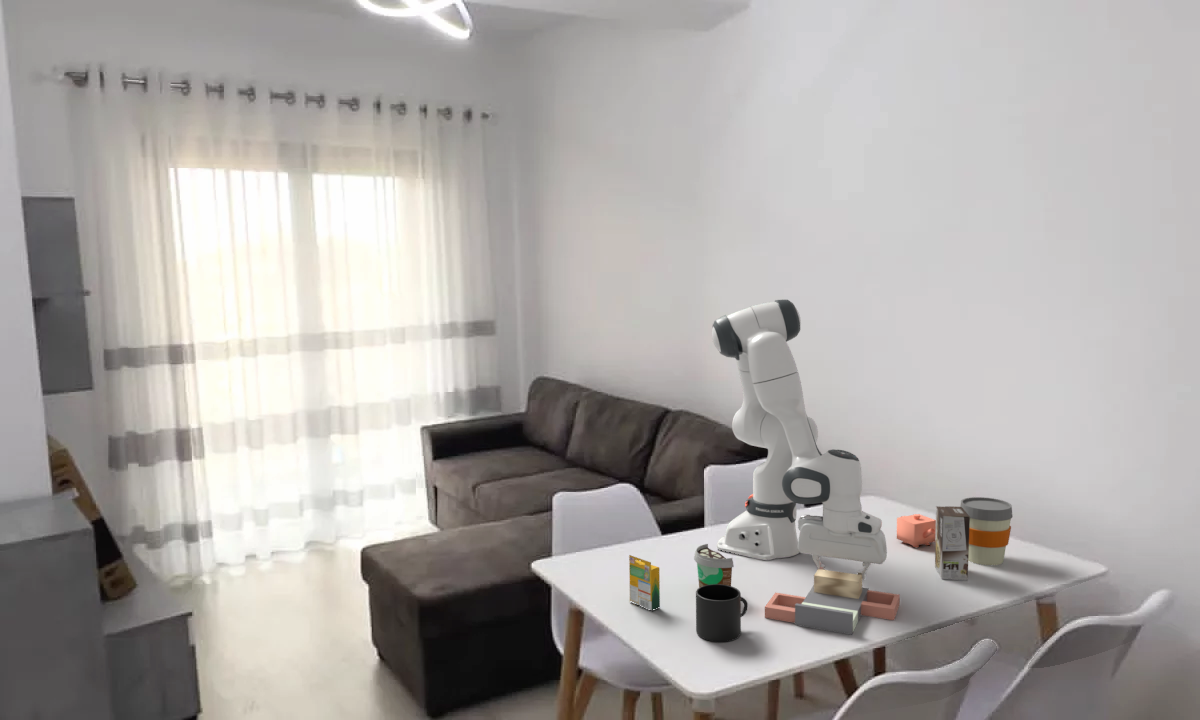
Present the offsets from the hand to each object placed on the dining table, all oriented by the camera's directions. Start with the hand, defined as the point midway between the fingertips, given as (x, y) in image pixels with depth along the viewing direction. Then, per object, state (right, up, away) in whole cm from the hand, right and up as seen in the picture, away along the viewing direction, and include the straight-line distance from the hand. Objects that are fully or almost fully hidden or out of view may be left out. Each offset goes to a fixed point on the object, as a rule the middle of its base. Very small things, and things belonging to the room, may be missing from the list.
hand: (841, 575), depth 200 cm
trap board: (-5, -5, -11) cm, 13 cm away
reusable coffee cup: (+43, -1, +20) cm, 47 cm away
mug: (-31, -7, -20) cm, 37 cm away
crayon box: (-47, -6, -5) cm, 48 cm away
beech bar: (-2, -2, -6) cm, 7 cm away
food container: (-31, -5, +2) cm, 32 cm away
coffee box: (+30, -2, +11) cm, 32 cm away
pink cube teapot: (+31, 0, +33) cm, 45 cm away
